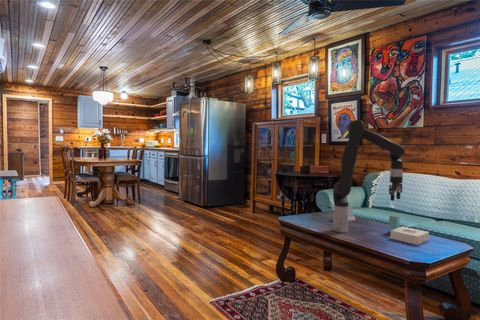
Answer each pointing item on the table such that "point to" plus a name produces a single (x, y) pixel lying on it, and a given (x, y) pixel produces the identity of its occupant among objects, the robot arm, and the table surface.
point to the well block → (409, 235)
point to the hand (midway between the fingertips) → (395, 199)
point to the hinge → (350, 215)
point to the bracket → (394, 222)
